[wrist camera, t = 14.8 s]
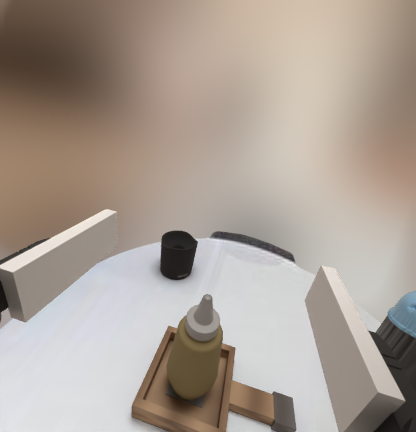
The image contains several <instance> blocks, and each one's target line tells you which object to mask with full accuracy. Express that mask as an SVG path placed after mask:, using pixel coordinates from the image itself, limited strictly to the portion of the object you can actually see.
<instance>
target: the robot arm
mask: <svg viewBox="0 0 416 432" xmlns="http://www.w3.org/2000/svg"><path fill="white" fill-rule="evenodd" d="M116 247H117V212H116V211H112V210H109V209H106V210H104V211H102V212H100V213H98V214H96V215H94V216H92V217H90V218H88V219H87V220H85V221H83V222H81V223H79V224H77V225H75V226H73V227H71V228H69V229H68V230H66V231H64V232H62V233H60V234H58V235H56V236H54V237H52V238H48V239H44V240H41V241H37V242H35V243H34V244H31V245H30V246H28V247H27V248H24V249H22V250H20V251H19V252H16V253H14V254H12V255H10V256H8V257H6V258H4V259H2V260H0V321H1V312H2V311H4V310H5V309H6V308H9V311H10V315H11V317H12V318H15V319H18V320H20V321H23V322H27V321H28V320H29V319H31V318H32V317H33V316H34V315H35V314H37V313H38V312H39V311H40V310H41V309H43V308H44V307H45V306H46V305H47V304H49V303H50V302H51V301H52V300H53V299H55V298H56V297H57V296H58V295H59V294H61V293H62V292H63V291H64V290H65V289H67V288H68V287H69V286H70V285H71V284H73V283H74V282H75V281H76V280H78V279H79V278H80V277H81V276H82V275H84V274H85V273H86V272H87V271H88V270H90V269H91V268H92V267H93V266H94V265H96V264H97V263H98V262H99V261H100V260H102V259H103V258H104V257H105V256H106V255H108V254H109V253H110V252H111V251H112V250H114V249H115V248H116ZM305 303H306V307H307V311H308V315H309V319H310V323H311V326H312V330H313V334H314V338H315V342H316V346H317V349H318V353H319V357H320V361H321V365H322V369H323V373H324V376H325V380H326V384H327V388H328V392H329V396H330V399H331V403H332V407H333V411H334V415H335V419H336V423H337V426H338V430H339V432H416V291H413V292H410V293H407V294H405V295H404V296H403V297H402V298H401V299H400V300H399V302H398V303H397V304H396V305H395V306H394V307H392V308H391V309H390V310H389V311H388V316H387V317H386V319H385V320H384V321H383V323H382V324H381V326H380V327H379V328H378V330H377V331H376V333H375V332H371V331H368V330H367V328H366V326H365V324H364V322H363V320H362V318H361V316H360V315H359V313H358V311H357V309H356V307H355V305H354V303H353V301H352V300H351V298H350V296H349V294H348V292H347V290H346V288H345V287H344V285H343V283H342V281H341V279H340V277H339V275H338V274H337V272H336V270H335V269H334V268H330V267H326V266H321V267H320V269H319V271H318V273H317V275H316V278H315V280H314V282H313V284H312V286H311V288H310V290H309V292H308V294H307V296H306V299H305Z"/></svg>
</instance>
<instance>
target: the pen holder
mask: <svg viewBox="0 0 416 432" xmlns="http://www.w3.org/2000/svg"><path fill="white" fill-rule="evenodd" d="M197 243H198V242H197V241H196V240H195V239H194V238H193V237H192V236H191V235H190V234H189V233H187V232H184V231H170V232H167V233H165V234H164V235H163V236H162V243H161V272H162V273H163V274H164V275H165V276H166V277H168V278H170V279H176V280H178V279H183V278H185V277H187V276H188V275H189V274H190V273H191V270H192V266H193V262H194V257H195V252H196V248H197Z"/></svg>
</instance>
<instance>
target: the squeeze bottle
mask: <svg viewBox="0 0 416 432" xmlns="http://www.w3.org/2000/svg"><path fill="white" fill-rule="evenodd" d="M222 340H223V331H222V328H221V326H220V318H219V315H218V313H217V312H216V311H215V310H214V309H213V303H212V296H211V295H208V294H207V295H204V296H203V298H202V300H201V302H200V304H199V305H196V306H194V307H192V308H191V309H190V310H189V311H188V312H187V315H186V316H185V317H184V318H183V319H182V320H181V321H180V323H179V325H178V329H177V332H176V335H175V338H174V342H173V345H172V348H171V352H170V355H169V358H168V362H167V366H166V367H167V375H168V379H169V381H170V383H171V385H172V387H173V389H174V391H175V392H176V394H177V395H178V396H179V397H181V398H182V399H184V400H189V401H191V400H195V399H198V398H199V397H201V396H202V395H204V394H205V393H206V392H207V391H208V390H210V389H211V388H212V387H213V385H214V383H215V381H216V379H217V376H218V369H219V362H220V354H221V347H222Z"/></svg>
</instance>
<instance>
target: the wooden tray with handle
mask: <svg viewBox="0 0 416 432" xmlns="http://www.w3.org/2000/svg"><path fill="white" fill-rule="evenodd" d="M176 332H177V328H174V327H171V326H168V328H167V331H166V333H165V335H164V337H163V339H162V341H161V344H160V346H159V348H158V350H157V352H156V354H155V357H154V359H153V361H152V363H151V365H150V367H149V370H148V372H147V374H146V376H145V378H144V380H143V383H142V385H141V387H140V389H139V391H138V393H137V396H136V398H135V400H134V402H133V404H132V417H134V418H137V419H140V420H142V421H145V422H147V423H150V424H152V425H155V426H157V427H160V428H162V429H165V430H167V431H170V432H226V427H227V418H228V410H231V411H233V412H236V413H239V414H242V415H244V416H247V417H250V418H252V419H255V420H258V421H260V422H263V423H266V424H269V425H271V429H273V430H276V431H278V432H295V431H296V423H295V415H294V407H293V398H291V397H288V396H286V395H283V394H280V393H277V392H273V393H272V394H270V393H267V392H264V391H261V390H258V389H255V388H253V387H250V386H247V385H244V384H241V383H238V382H235V381H233V380H232V373H233V364H234V355H235V347H232V346H229V345H226V344H223V343H222V347H221V354H220V362H219V369H218V376H217V379H216V381H215V383H214V385H213V387H212V388H211V389H210V390H208V391H207V392H206V393H205V394H204V395H202V396H201V397H199V398H198V399H195V400H191V401H189V400H184V399H182V398H181V397H179V396H178V395H177V394H176V392H175V391H174V389H173V387H172V385H171V383H170V381H169V379H168V375H167V367H166V366H167V362H168V358H169V355H170V352H171V348H172V345H173V342H174V338H175V335H176Z"/></svg>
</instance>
